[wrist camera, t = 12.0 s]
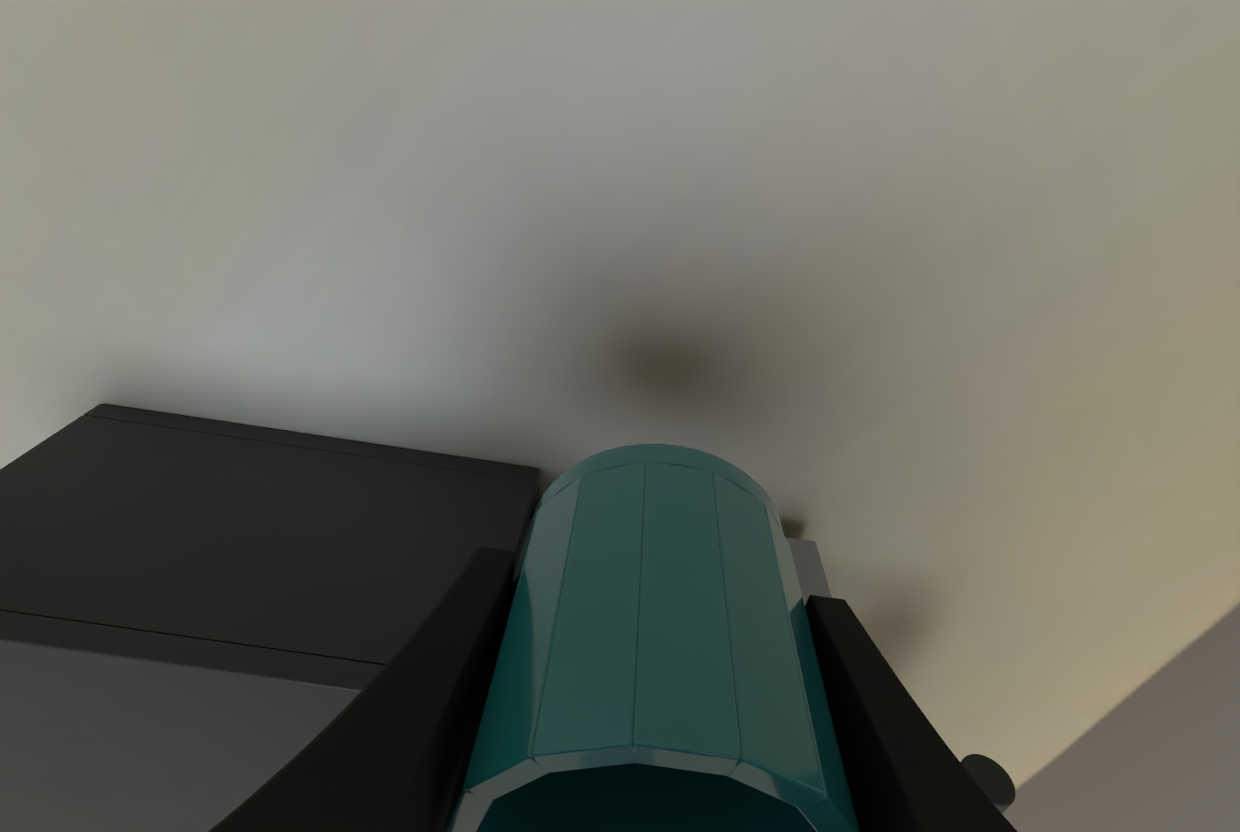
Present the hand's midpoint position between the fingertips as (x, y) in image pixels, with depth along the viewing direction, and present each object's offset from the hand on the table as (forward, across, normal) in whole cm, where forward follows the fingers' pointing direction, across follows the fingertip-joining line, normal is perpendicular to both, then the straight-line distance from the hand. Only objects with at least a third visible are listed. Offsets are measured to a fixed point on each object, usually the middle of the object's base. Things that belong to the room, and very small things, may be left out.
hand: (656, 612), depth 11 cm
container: (+2, 0, 0) cm, 2 cm away
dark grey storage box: (+9, +10, +10) cm, 17 cm away
